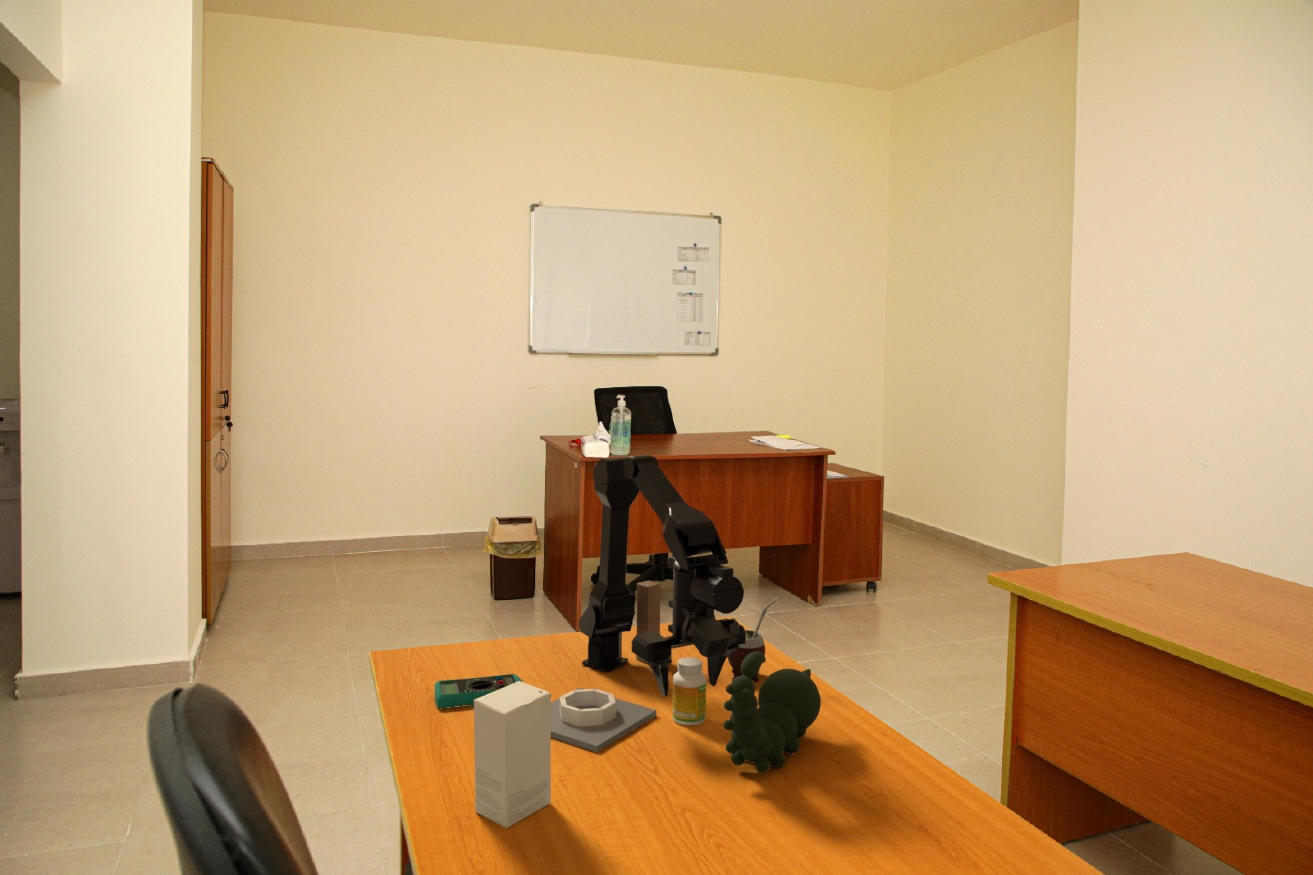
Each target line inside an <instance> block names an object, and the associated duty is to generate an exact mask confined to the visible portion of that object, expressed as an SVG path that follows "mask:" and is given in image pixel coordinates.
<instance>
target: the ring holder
mask: <svg viewBox="0 0 1313 875" xmlns="http://www.w3.org/2000/svg"><path fill="white" fill-rule="evenodd" d="M655 717H657V709H655V708H651V707H648V706H645V705H640V704H637V703H633V702H632V701H631V702H630V701H627V700H622V699H620V698H616V697H614V694H613V693H611V692H608V691H605V690H602V689H597V688H589V689H588V688H587V689H585V688H582V687H578V688H576V689H573V690H571V691H568V692H567V693H564V694H563V695H561V696H559V697H558V698H556V699H555V700H552V701H551V702H550V722H551V739H555V740H558V741H561V742H564V743H566V744H570V745H573V746H577V747H579V748H582V749H584V750H587V751H591V752H594V753H598V752H600V751H601V750H603V749H605V748H606V747H608V746H609V745H611V744H613V743H614V742H616V741H617V740H619V739H621V738H622V737H625V736H626V735H627V734H629V733H631V732H632V731H634V730H636V729H637V728H640V726H642V725H643V724H644V725H645V723H648V722H649V721H650V720H652V719H654V718H655Z"/></svg>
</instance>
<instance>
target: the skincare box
mask: <svg viewBox="0 0 1313 875" xmlns="http://www.w3.org/2000/svg"><path fill="white" fill-rule="evenodd" d="M551 698H552V693H551V692H549V691H548V690H544V689H542V688H539V687H537V686H533V685H531V684H528V683H526V682H524V681H523V682H520V681H518V682H516V683H513V684H511V685H509V686H506V687H504V688H501V689H499V690H497V691H494V692H492V693H489V694H487V695H485V696H482V697H480V698H477V699H475V700H474V705H473V719H474V720H473V723H474V724H473V725H474V727H473V728H474V729H473V730H474V732H473V734H474V736H473V737H474V788H475V789H474V791H475V792H474V799H475V800H474V803H475V806H474V807H475V808H474V809H475V810H474V811H475V812H476V813H477V814H479V815H480V816H483V817H484V818H487V819H488V820H490V821H492V822H494V823H496V824H498V825H500V826H502V827H503V828H505V829H508V828H509V827H511V826H513V825H516V823H518V822H520V821H522V820H523V819H525V818H527V817H529V816H531V815H533V814H534V813H536V812H538V811H539V810H541V809H543V808H545V807H547V806H548V805H550V804H551V803H552V783H551V782H552V777H551V776H552V774H551V773H552V772H551V771H552V768H551V766H552V765H551V762H552V761H551V760H552V759H551V758H552V756H551V750H552V749H551V746H552V745H551V743H552V742H551V740H552V737H551V722H550V702H552V701H551Z"/></svg>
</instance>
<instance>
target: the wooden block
mask: <svg viewBox="0 0 1313 875" xmlns="http://www.w3.org/2000/svg"><path fill="white" fill-rule="evenodd" d="M661 588H662V587H661V583H659V582H656V581H652V580H645V581H641V582H637V583H636V635H639V634H645V633H650V632H655V633H657V634H659V635H661ZM672 653H673V649H671V655H670V656H669V659H671V660H672ZM635 656H636V660H638V661H641V662H642V663H644V664H647V665H649V664H648V662H647V661H646V660H644V659H642V658H641V657H639V656H638V655H636V654H635ZM672 661H673V660H672ZM670 665H672V663H671V664H670Z"/></svg>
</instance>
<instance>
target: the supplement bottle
mask: <svg viewBox="0 0 1313 875" xmlns="http://www.w3.org/2000/svg"><path fill="white" fill-rule="evenodd" d="M676 663H677V668H676V669H677V671H676V673H674V675H673V677H672V708H671V709H672V713H671V714H672V715H671V716H672V719H673V721H674V722H675V723H676V724H679V725H681V726H682V725H683V726H697V725H700V724H701V725H702V723H704V722H705V720H706V716H707V715H706V713H707V677H706V675H705V674H704V672H702V671H703V661H702V660H701V659H700V658H697V657H689V656H687V657H682V658H679V659H678V660H677V662H676Z"/></svg>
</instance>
